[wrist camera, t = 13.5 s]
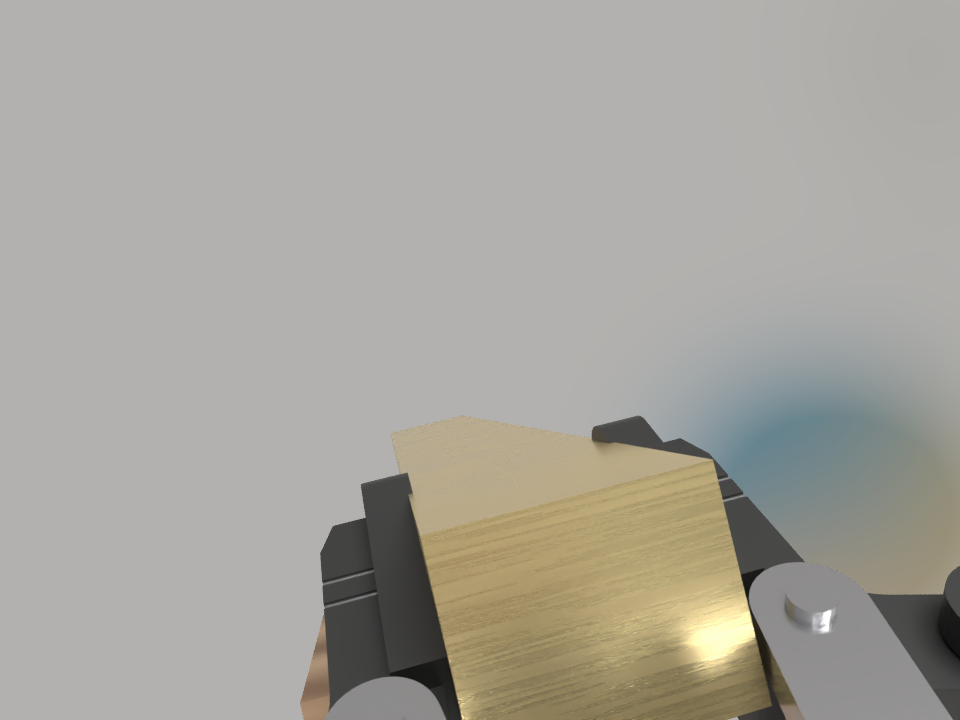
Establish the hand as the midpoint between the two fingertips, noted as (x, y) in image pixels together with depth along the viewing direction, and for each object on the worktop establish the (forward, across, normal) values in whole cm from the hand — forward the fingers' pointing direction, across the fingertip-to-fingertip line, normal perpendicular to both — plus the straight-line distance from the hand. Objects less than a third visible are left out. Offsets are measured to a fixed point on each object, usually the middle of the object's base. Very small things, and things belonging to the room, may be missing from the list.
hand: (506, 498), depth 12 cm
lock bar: (+6, 0, +5) cm, 8 cm away
